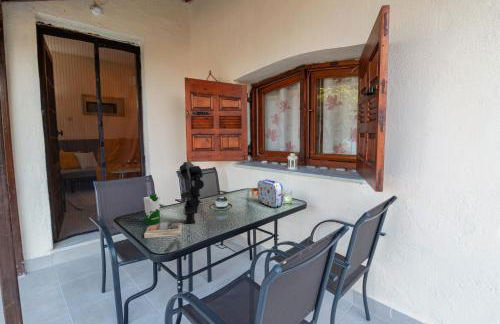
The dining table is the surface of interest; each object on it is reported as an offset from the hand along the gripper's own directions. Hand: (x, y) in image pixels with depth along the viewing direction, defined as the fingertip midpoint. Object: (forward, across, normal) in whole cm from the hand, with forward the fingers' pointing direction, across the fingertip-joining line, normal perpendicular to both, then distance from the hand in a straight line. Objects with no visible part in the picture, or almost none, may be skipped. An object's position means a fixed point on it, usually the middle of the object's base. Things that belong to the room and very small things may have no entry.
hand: (195, 210), depth 156 cm
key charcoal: (+12, +1, -13) cm, 17 cm away
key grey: (+10, +1, -19) cm, 21 cm away
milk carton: (+12, -17, -29) cm, 36 cm away
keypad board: (+12, +1, -19) cm, 22 cm away
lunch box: (+12, -44, +61) cm, 76 cm away
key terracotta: (+12, +1, -25) cm, 28 cm away
